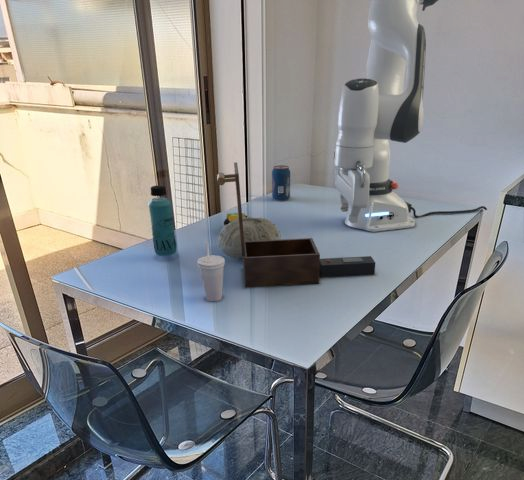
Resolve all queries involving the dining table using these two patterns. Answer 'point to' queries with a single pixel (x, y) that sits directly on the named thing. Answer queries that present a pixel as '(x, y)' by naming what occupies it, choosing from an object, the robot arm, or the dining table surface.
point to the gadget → (232, 217)
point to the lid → (221, 181)
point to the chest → (281, 262)
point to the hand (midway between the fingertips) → (348, 216)
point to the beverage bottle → (162, 222)
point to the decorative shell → (245, 234)
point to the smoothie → (212, 275)
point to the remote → (346, 266)
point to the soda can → (281, 183)
